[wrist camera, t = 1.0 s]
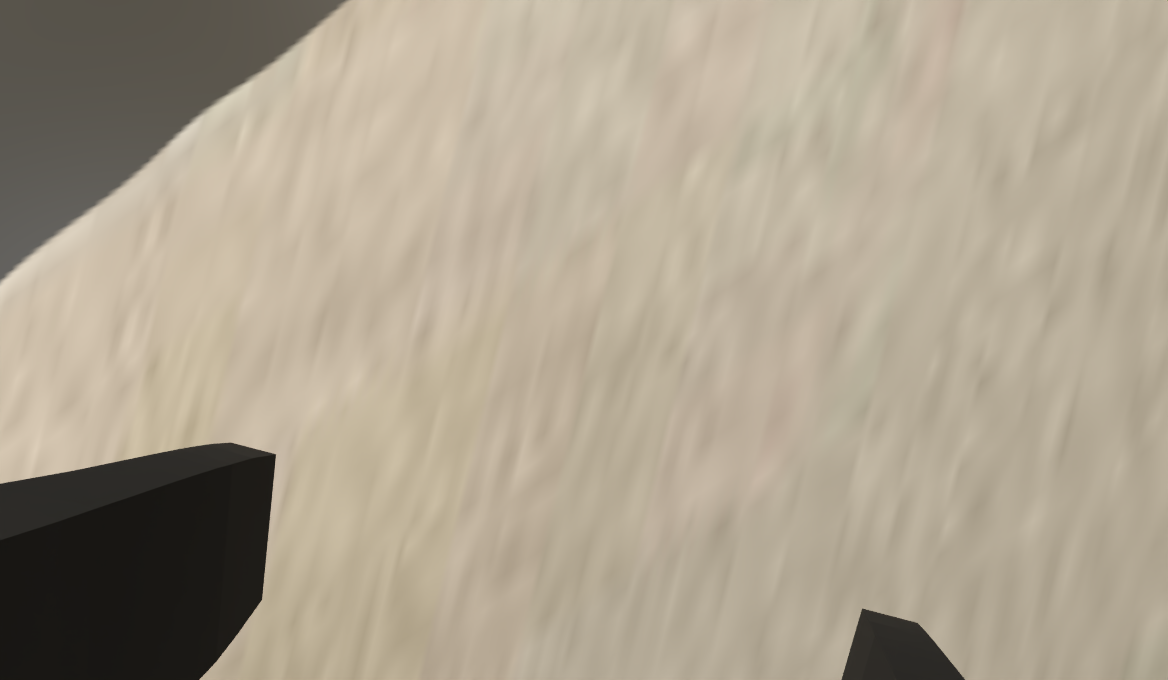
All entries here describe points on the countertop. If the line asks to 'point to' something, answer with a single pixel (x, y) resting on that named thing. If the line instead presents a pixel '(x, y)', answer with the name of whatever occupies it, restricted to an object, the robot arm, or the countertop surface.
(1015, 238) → the countertop surface
